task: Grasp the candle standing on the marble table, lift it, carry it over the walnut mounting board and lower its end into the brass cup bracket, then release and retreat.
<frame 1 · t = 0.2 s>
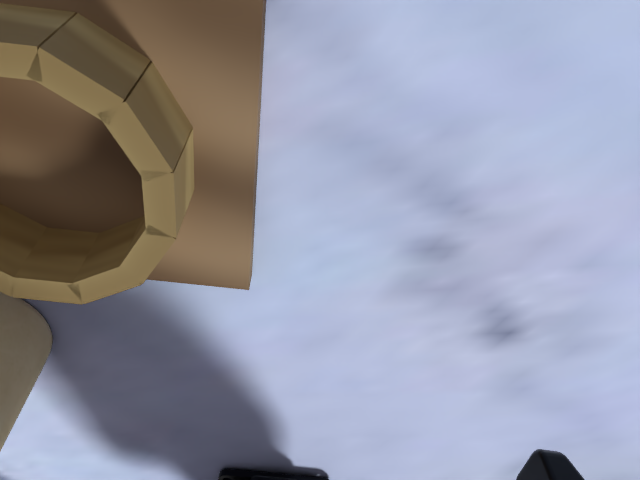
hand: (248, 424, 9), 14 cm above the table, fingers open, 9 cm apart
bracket: (68, 131, 23), on the table
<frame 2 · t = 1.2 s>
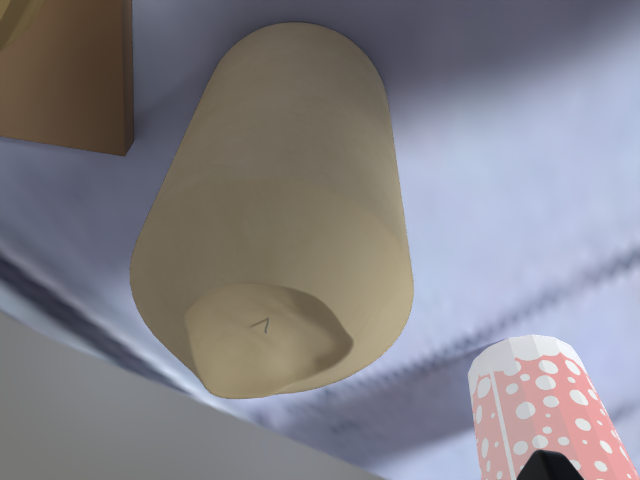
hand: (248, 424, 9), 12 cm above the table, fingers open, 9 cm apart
candle: (298, 107, 19), on the table
beverage cup: (522, 369, 26), on the table
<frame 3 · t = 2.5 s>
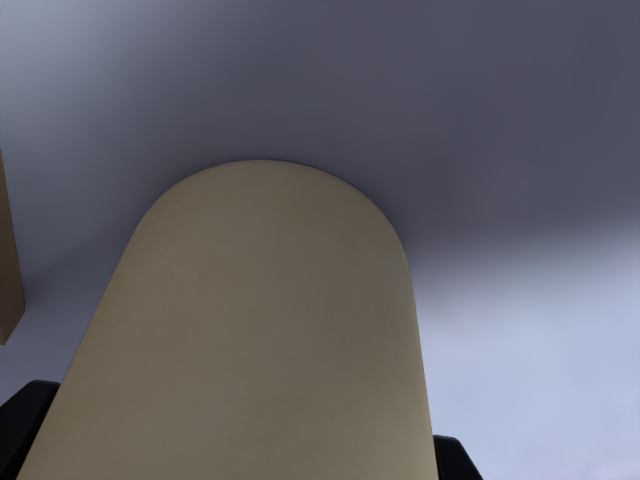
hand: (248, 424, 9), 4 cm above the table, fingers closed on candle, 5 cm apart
candle: (271, 269, 12), on the table, touching gripper
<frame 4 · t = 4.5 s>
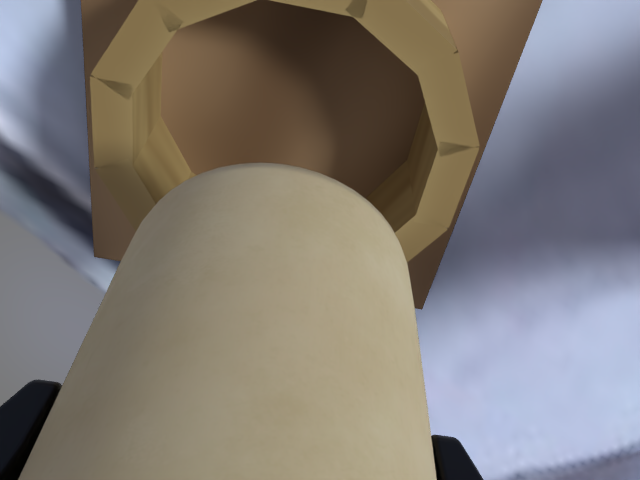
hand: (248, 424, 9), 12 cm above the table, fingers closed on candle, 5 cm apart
candle: (271, 272, 12), point 8 cm above the table, touching gripper
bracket: (293, 93, 19), on the table
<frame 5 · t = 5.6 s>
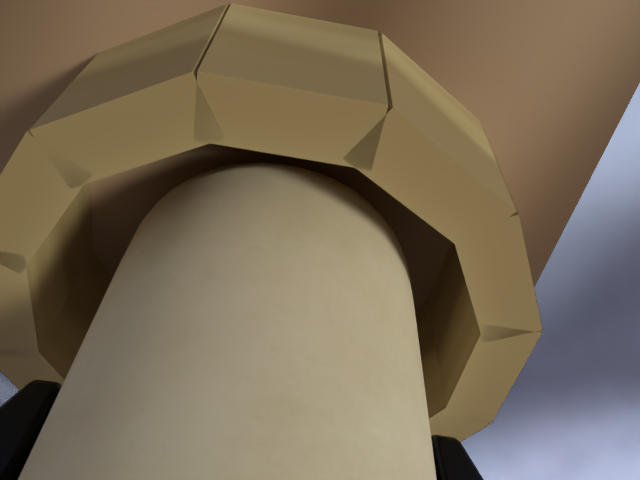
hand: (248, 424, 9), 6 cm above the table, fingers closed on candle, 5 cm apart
candle: (271, 272, 12), point 2 cm above the table, touching gripper
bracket: (273, 214, 14), on the table
when the fingers open (5 cm above the table, at t = 6.5 s): candle stays where it is, resting on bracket.
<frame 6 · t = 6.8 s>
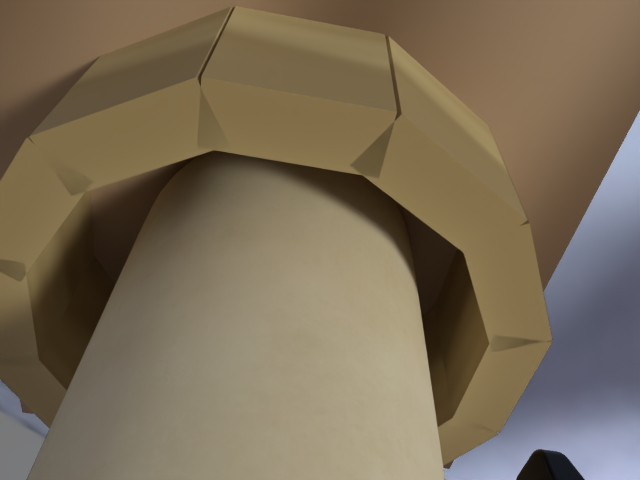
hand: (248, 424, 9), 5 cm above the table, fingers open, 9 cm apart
candle: (280, 243, 13), point 1 cm above the table, touching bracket
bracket: (277, 219, 14), on the table
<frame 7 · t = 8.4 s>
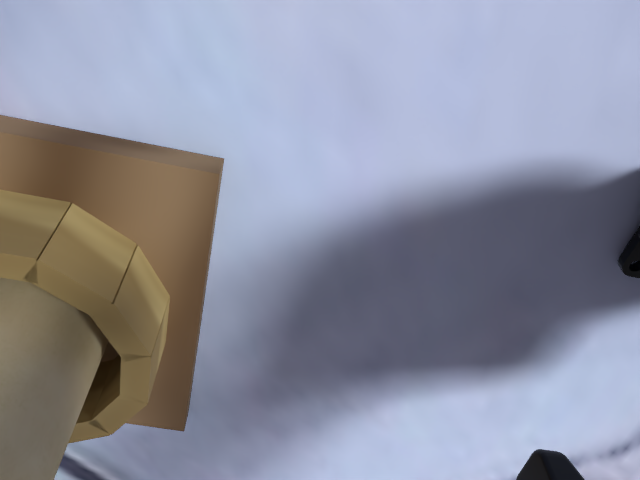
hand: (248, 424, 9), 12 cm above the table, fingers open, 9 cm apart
candle: (45, 297, 23), point 1 cm above the table, touching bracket
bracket: (49, 281, 24), on the table
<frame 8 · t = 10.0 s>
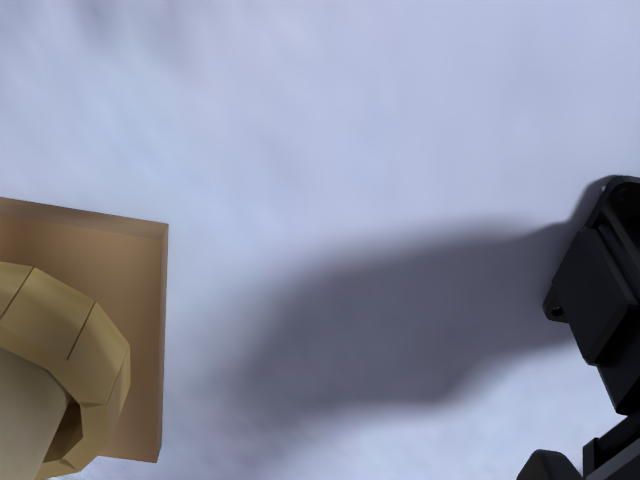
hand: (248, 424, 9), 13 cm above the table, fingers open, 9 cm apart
candle: (19, 346, 26), point 1 cm above the table, touching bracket
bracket: (24, 331, 26), on the table
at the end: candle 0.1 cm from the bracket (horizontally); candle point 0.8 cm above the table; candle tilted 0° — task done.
